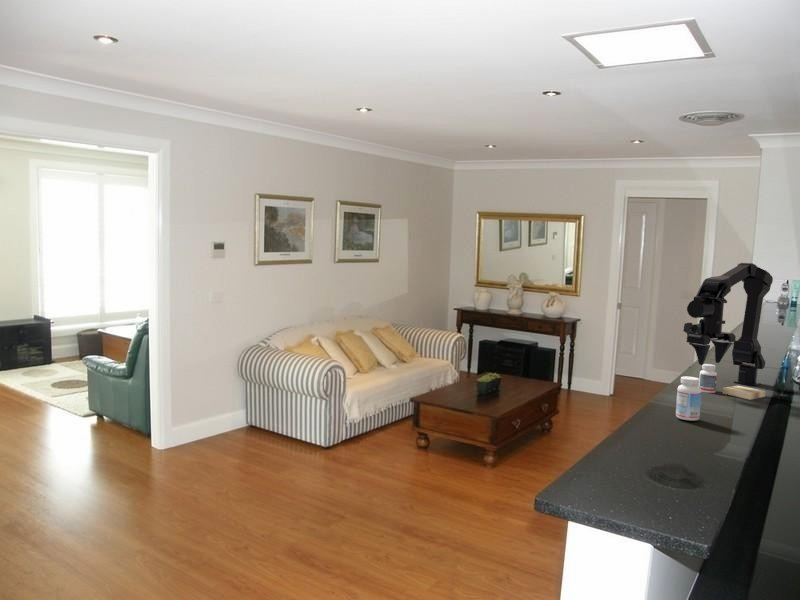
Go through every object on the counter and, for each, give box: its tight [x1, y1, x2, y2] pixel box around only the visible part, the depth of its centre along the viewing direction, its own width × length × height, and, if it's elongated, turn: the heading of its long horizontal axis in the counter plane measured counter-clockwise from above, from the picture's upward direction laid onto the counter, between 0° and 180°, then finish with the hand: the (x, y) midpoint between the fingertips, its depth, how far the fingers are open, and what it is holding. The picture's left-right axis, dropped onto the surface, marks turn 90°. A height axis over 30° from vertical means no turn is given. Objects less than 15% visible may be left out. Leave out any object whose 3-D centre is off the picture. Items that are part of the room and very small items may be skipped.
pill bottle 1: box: [675, 375, 702, 422], centre depth 175 cm, size 6×6×11 cm
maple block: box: [722, 385, 767, 401], centre depth 206 cm, size 9×9×2 cm
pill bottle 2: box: [698, 363, 718, 394], centre depth 210 cm, size 5×5×9 cm
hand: (709, 363), depth 210 cm, fingers open, 9 cm apart
